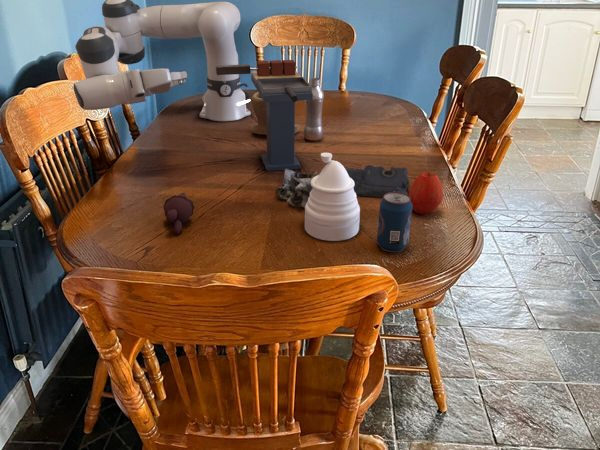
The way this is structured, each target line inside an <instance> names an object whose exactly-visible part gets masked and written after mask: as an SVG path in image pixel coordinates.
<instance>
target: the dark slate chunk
mask: <svg viewBox="0 0 600 450" xmlns="http://www.w3.org/2000/svg"><path fill="white" fill-rule="evenodd" d="M345 170H346V171H347V173H348V175H349V177H350V178H352V180H353V181H354V183H355V185H354V188H353V189H354V192H355V193H356V196H357V197H358V196H359V197H371V198H383V196H384V194H386V193H389V192H401V193H405V194H407V195H409V193H408V191H407V189H408V186H409V184H410V180H409V177H408V172H409V171H408V168H406V167H395V166H391V167H390V170H387V169H385V167H384V166H382V165H381V166H374V165H370V164H368V165H366V166H365V167H364V168H345Z"/></svg>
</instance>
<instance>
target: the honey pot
mask: <svg viewBox="0 0 600 450" xmlns="http://www.w3.org/2000/svg"><path fill="white" fill-rule="evenodd" d="M332 158H333V154H332V153H331V152H321V153H320V159H321V162H323V163H325V165H324V167H323V168H322V169H321V170H320V173H319V174H318V175H317V174H316V175H314V176H313V177H314V178H313V177H312V180H311V186H312V187H313V189H312V191H311V192H310V196H309V198H308V202H307V203H306V205H305V207H304V231H305V232H306V233H307V234H308V235H309V236H311V237H312V238H315V239H317V240H321V241H328V242H339V241H346V240H349V239H352V238H353V237H355V236H356V235H357V234H358V233H359V231H360V221H361V220H360V219H361V216H360V215H361V213H360V212H361V207H360V204H359V201H358V198H357V197H358V196H356V193H355V192H354V189H353V188H354V185H355V183H354V181H353V180H352V178H350V177H349V175H348V173H347V171H346V170H345V169H346V168H345V167H344V165H343V164H342V163H341V162H339V161H337V160H333V159H332Z"/></svg>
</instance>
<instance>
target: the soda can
mask: <svg viewBox="0 0 600 450" xmlns="http://www.w3.org/2000/svg"><path fill="white" fill-rule="evenodd" d="M410 199H411V198H410V196H409V194H405V193H401V192H389V193H386V194H384V196H383V197H382V199H381V201H380V202H379V210H378V211H379V212H378V222H377V233H376V241H377V244H378V246H379V248H380V249H382V250H383V251H385V252H388V253H400V252H402V251H404V250H405V249H406V247H408V245H409V240H410V239H409V238H410V232H411V222H412V216H413V208H412V203H411V201H410Z"/></svg>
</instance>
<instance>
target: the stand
mask: <svg viewBox="0 0 600 450" xmlns="http://www.w3.org/2000/svg"><path fill="white" fill-rule="evenodd" d="M250 78H251V79H250V81H251V82H252V84H253V86H254V87H255V89H256V91H257V92H258V93H259V94H260V96H261V98H262V100H263V101H264V102H266V121H267V135H266V154H261V156H260V157H261V160H262V163H263V166H264V168H265V170H266V171H267V172H273V171H285V169H289V170H299V169H301V163H300V162H299V160H298V158H297V156H296V153H295V141H296V140H295V137H296V135H295V134H296V133H295V124H296V122H295V121H296V102H297V101H298V102H300V101H305V100H313V93H312V92H306V93H295V94H296V96H297V97H298V100H297V101H296V102H293V101H292V100H291V98H290V97H289V96H288V94H287V93H284V94H263V93H262V91H261V90H260V88H259V86H258V85H257V83H256V81H255V80H254V78H253V76H252V73H251V74H250Z"/></svg>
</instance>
